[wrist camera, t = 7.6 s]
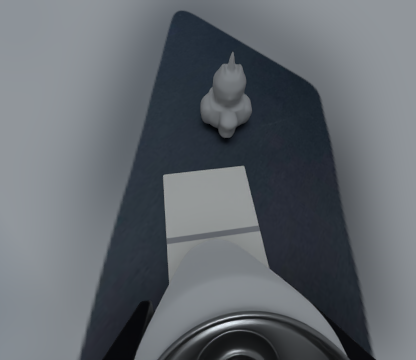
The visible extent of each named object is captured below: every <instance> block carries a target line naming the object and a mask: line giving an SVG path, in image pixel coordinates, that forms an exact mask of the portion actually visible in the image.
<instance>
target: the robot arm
mask: <svg viewBox="0 0 416 360" xmlns="http://www.w3.org/2000/svg"><path fill="white" fill-rule="evenodd" d="M292 287H293V286H292ZM293 288H294V287H293ZM294 289H295V288H294ZM295 290H297V289H295ZM297 291H298V290H297ZM298 292H299V291H298ZM299 293H300V292H299ZM300 294H301V293H300ZM301 295H302V294H301ZM305 298H306V297H305ZM306 299H307V298H306ZM307 300H308V299H307ZM308 301H309V300H308ZM309 302H310V301H309ZM310 303H311V302H310ZM311 304H312V303H311ZM312 305H313V306H314V307H315V308H316V309H317V310H318V311H319V312H320V313H321V314H322V316H323V317H324V318H325V319H326V321H327V322H328V323H329V325H330V326H331V327H332V329H333V330H334V332H335V334H336V335H337V337H338V339H339V341H340V342H341V344H342V346H343V348H344V350H345V352H346V355H347V357H348V358H349V359H350V360H376V359H374V358H373V357H372V356H371V355H370V354H369V353H368V352H367V351H365V350H364V349H363V348H362V347H361V346H360V345H359V344H358V343H356V342H355V341H354V340H353V339H352V338H351V337H350V336H349V335H347V334H346V333H345V332H344V331H343V330H342V329H341V328H339V327H338V326H337V325H336V324H335V323H334V322H333V321H332V320H330V319H329V318H328V317H327V316H326V315H325V314H324V313H323V312H321V311H320V310H319V309H318V308H317V307H316V306H315V305H314V304H312ZM153 315H154V311H153V306H152V302H151V301H142V302H141V303H140V304H139V305H138V307H137V308H136V310H135V311H134V313H133V314H132V316H131V317H130V319H129V320H128V322H127V323H126V325H125V326H124V328H123V329H122V331H121V332H120V334H119V335H118V337H117V338H116V340H115V341H114V343H113V344H112V346H111V347H110V349H109V350H108V352H107V353H106V355H105V356H104V358H103V359H102V360H134V359H135V356H136V353H137V350H138V347H139V345H140V343H141V340H142V338H143V336H144V334H145V332H146V329H147V327H148V325H149V323H150V321H151V319H152V317H153Z"/></svg>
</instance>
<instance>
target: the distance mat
mask: <svg viewBox="0 0 416 360" xmlns="http://www.w3.org/2000/svg"><path fill="white" fill-rule="evenodd" d="M163 181H164V199H165V217H166V235H167V253H168V271H169V284H170V282H171V280H172V278H173V276H174V274H175V272H176V270H177V268H178V267H179V265H180V263H181V261H182V260H183V258H184V257H185V255H186V254H187V253H188V252H189V251H190V250H191V249H192V248H194V247H195V246H197V245H199V244H201V243H203V242H205V241H209V240H214V239H221V240H226V241H229V242H232V243H234V244H236V245H238V246H240V247H241V248H242V249H244V250H245V251H247V252H248V253H249V254H251V255H252V256H253V257H255V258H256V259H257V260H258V261H260V262H261V263H262V264H264V265H265V266H266V267H268V268H269V266H268V262H267V258H266V254H265V250H264V246H263V241H262V237H261V233H260V229H259V225H258V221H257V217H256V213H255V209H254V205H253V201H252V197H251V192H250V188H249V184H248V180H247V176H246V172H245V168H244V166H239V167H230V168H221V169H212V170H203V171H194V172H185V173H176V174H167V175H163Z"/></svg>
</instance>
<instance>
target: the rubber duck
mask: <svg viewBox="0 0 416 360" xmlns="http://www.w3.org/2000/svg"><path fill="white" fill-rule="evenodd" d="M245 85H246V78H245V75H244V73H243V69H242V66H241V65H240V64H239V65H237V64H235V61H234V53H233V52H232V54H231V57H230V60H229V63H228V64H223V65H222V66H221V68H220V69H219V70H218V71H217V72H216V73H215V75H214V78H213V88H211V89H210V91H209V93H208V94H207V95H205V96H204V97H203V99H202V101H201V117H202V120H203V121H204V122H205V123H207V124H211V125H212V126H213V127H216V128H218V131H219V134H220V135H221V136H222V137H224V138H230V137H231V136H232V135H233V134H234V131H235V128H236V127H237V126H239V125H240V124H244V123H246V122H247V121H248V119H249V117H250V115H251V113H252V108H251V102H250V99H249V98H248V97H247V96H246V95H245V94H244V89H245Z"/></svg>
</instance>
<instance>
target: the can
mask: <svg viewBox="0 0 416 360" xmlns="http://www.w3.org/2000/svg"><path fill="white" fill-rule="evenodd" d="M134 360H350V359H349V358H348V357H347V355H346V352H345V350H344V348H343V346H342V344H341V342H340V341H339V339H338V337H337V335H336V334H335V332H334V330H333V329H332V327H331V326H330V325H329V323H328V322H327V321H326V319H325V318H324V317H323V316H322V314H321V313H320V312H319V311H318V310H317V309H316V308H315V307H314V306H313V305H312V304H311V303H310V302H309V301H308V300H307V299H306V298H305V297H304V296H303V295H301V294H300V293H299V292H298V291H297V290H295V289H294V288H293V287H292V286H291V285H289V284H288V283H287V282H286V281H284V280H283V279H282V278H280V277H279V276H278V275H277V274H275V273H274V272H273V271H271V270H270V269H269V268H268V267H266V266H265V265H264V264H262V263H261V262H260V261H258V260H257V259H256V258H255V257H253V256H252V255H251V254H249V253H248V252H247V251H245V250H244V249H242V248H241V247H240V246H238V245H236V244H234V243H232V242H229V241H226V240H221V239H214V240H209V241H205V242H203V243H201V244H199V245H197V246H195V247H194V248H192V249H191V250H190V251H189V252H188V253H187V254H186V255H185V257H184V258H183V260H182V261H181V263H180V265H179V267H178V268H177V270H176V272H175V274H174V276H173V278H172V280H171V282H170V284H169V286H168V288H167V290H166V292H165V293H164V295H163V297H162V299H161V301H160V303H159V305H158V307H157V309H156V311H155V313H154V315H153V317H152V319H151V321H150V323H149V325H148V327H147V329H146V332H145V334H144V336H143V338H142V340H141V343H140V345H139V347H138V350H137V353H136V356H135V359H134Z"/></svg>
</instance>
